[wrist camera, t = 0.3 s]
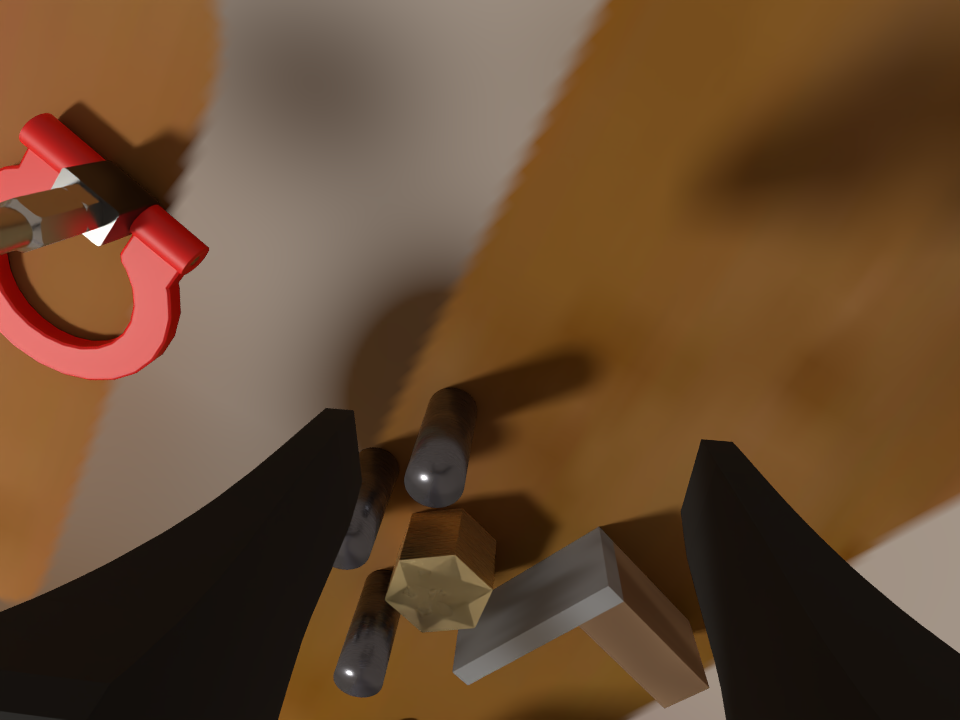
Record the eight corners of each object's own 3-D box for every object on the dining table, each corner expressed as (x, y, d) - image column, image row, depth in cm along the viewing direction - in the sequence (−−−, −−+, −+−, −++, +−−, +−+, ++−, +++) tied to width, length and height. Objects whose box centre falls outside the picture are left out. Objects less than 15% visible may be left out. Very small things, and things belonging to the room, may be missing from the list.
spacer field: (385, 607, 29) (358, 703, 24) (277, 515, 27) (225, 600, 22) (564, 494, 25) (572, 582, 21) (454, 378, 23) (435, 446, 19)
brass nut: (472, 592, 28) (466, 645, 25) (392, 567, 28) (377, 618, 25) (505, 520, 26) (502, 570, 23) (419, 493, 26) (407, 539, 23)
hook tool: (551, 689, 30) (554, 758, 27) (461, 607, 29) (452, 672, 25) (688, 619, 28) (709, 687, 25) (599, 525, 26) (608, 585, 23)
